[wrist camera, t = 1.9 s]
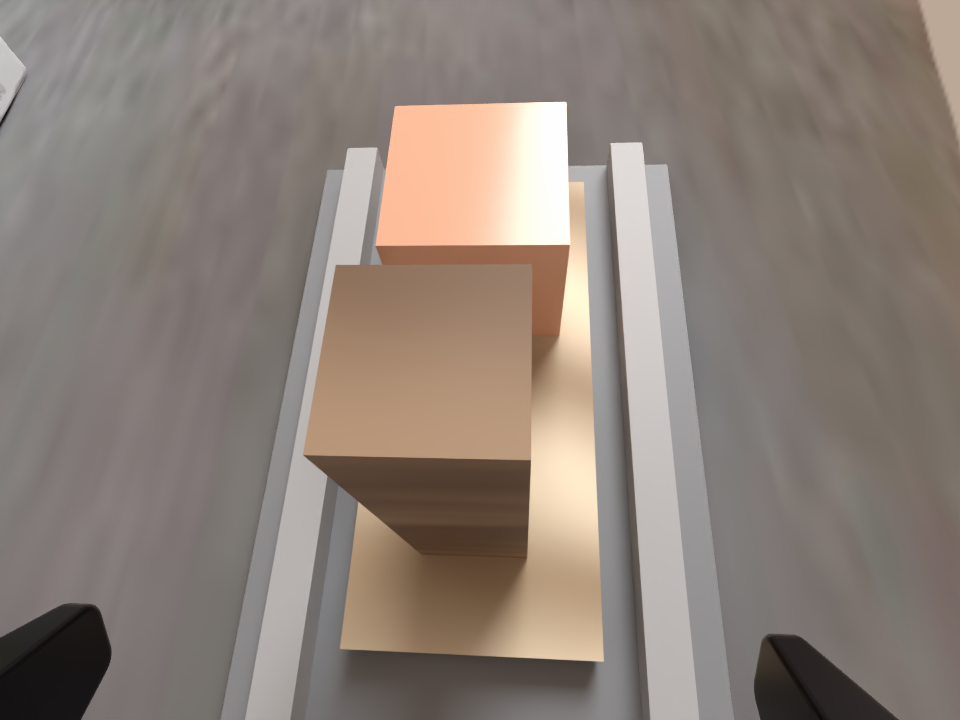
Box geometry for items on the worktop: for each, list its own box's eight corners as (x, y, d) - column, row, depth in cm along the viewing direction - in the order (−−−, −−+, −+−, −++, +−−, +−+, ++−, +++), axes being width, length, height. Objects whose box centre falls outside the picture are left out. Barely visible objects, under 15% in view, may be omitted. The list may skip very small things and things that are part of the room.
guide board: (791, 1326, 12) (843, 1459, 10) (138, 1240, 13) (70, 1345, 11) (662, 181, 25) (673, 141, 23) (334, 186, 26) (318, 148, 24)
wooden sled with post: (599, 660, 16) (717, 691, 6) (349, 648, 17) (100, 659, 7) (581, 199, 23) (624, -133, 13) (403, 201, 24) (316, -116, 14)
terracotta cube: (559, 336, 20) (569, 244, 15) (408, 335, 20) (375, 245, 15) (557, 214, 22) (566, 101, 17) (421, 215, 22) (395, 106, 18)
